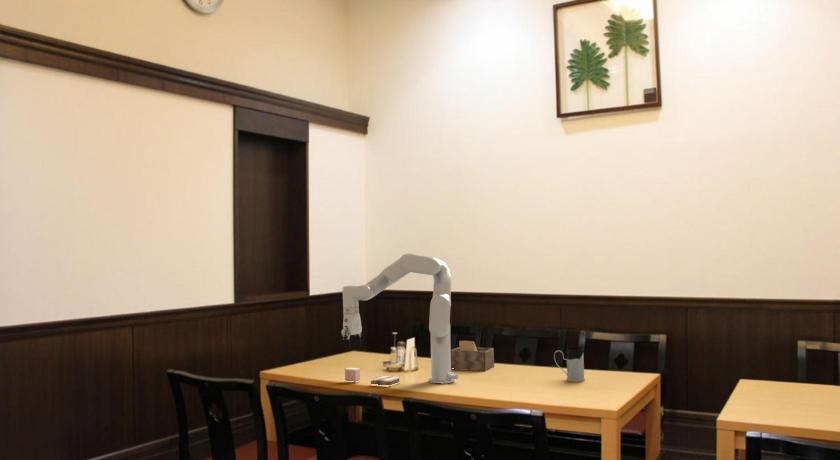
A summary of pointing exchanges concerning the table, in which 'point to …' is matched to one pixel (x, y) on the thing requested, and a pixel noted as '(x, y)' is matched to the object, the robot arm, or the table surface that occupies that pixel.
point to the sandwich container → (467, 346)
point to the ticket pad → (385, 380)
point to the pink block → (352, 374)
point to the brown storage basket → (473, 359)
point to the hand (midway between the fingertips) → (352, 346)
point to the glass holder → (574, 364)
